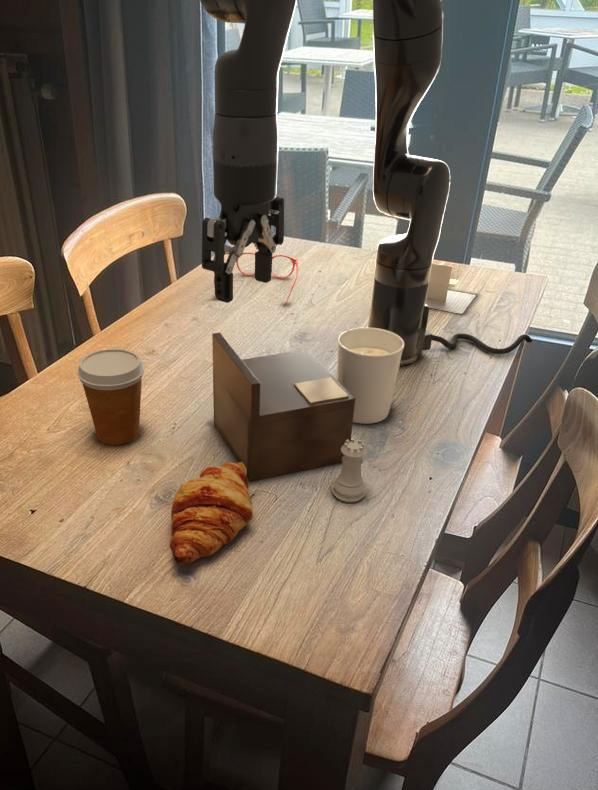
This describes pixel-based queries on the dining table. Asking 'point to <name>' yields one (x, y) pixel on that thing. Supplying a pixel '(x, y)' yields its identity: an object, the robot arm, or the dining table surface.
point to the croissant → (209, 511)
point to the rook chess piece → (350, 473)
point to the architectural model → (445, 291)
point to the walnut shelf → (279, 410)
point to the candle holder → (369, 370)
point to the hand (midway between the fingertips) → (244, 290)
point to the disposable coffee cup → (113, 393)
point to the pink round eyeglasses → (272, 272)
